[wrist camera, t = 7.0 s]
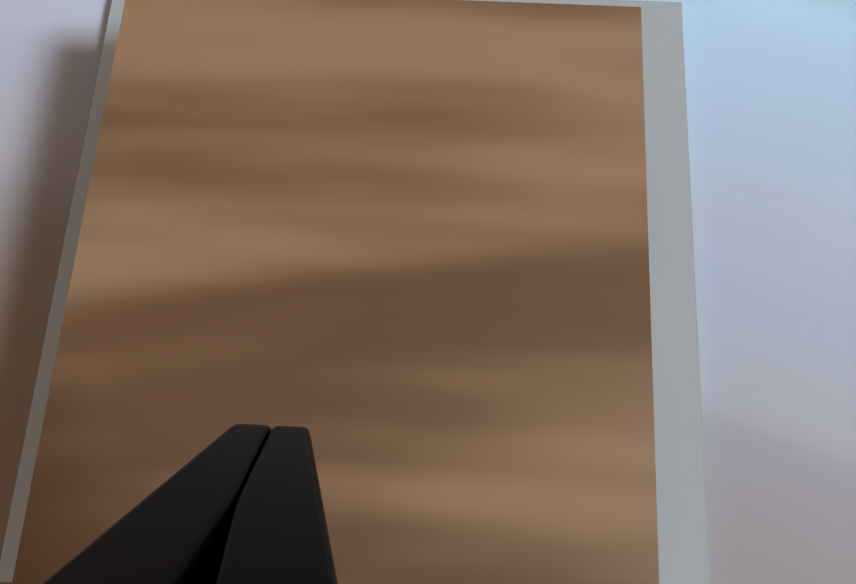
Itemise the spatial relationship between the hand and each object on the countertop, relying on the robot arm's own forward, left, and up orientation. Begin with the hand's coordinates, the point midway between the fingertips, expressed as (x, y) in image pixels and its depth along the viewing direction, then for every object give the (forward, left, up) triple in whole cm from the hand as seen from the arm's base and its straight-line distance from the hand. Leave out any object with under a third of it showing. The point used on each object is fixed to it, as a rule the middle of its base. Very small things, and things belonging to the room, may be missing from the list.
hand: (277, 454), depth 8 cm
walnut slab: (-3, -1, -7) cm, 8 cm away
